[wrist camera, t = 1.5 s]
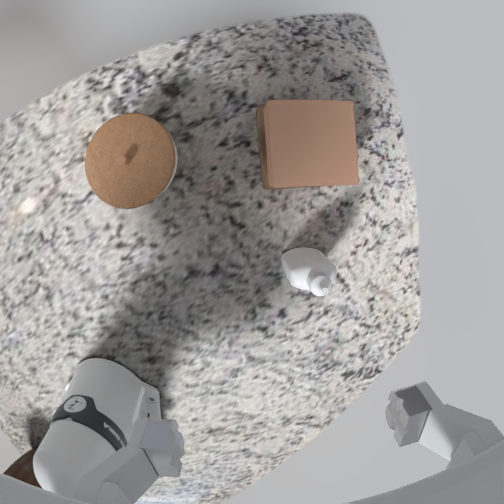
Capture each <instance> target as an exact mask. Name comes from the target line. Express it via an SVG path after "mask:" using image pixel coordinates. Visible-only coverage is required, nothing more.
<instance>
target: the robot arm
mask: <svg viewBox="0 0 504 504" xmlns="http://www.w3.org/2000/svg"><path fill="white" fill-rule="evenodd" d="M65 390H66V392H65V395H64V397H63V399H62V401H61V403H60V406H59V407H58V409H57V410H56V412H55V414H54V415H53V416H52V418H51V421H50V423H49V430H48V432H47V433H46V435H45V437H44V438H43V440H42V442H41V444H40V445H39V447H38V449H37V451H36V452H35V454H34V457H33V469H34V474H35V477H36V479H37V481H38V482H39V484H40V486H41V487H42V489H41V488H38V487H36V486H33V485H30V484H28V483H25V482H23V481H20V480H18V479H15V478H13V477H11V476H8V475H5V474H0V504H134V503H135V502H136V501H137V500H138V499H139V498H140V497H141V496H142V495H143V493H144V492H145V491H146V490H147V489H148V488H149V487H150V486H151V485H152V484H153V483H154V482H155V481H156V480H157V479H158V478H159V477H158V476H167V477H180V472H181V466H182V463H181V461H180V458H181V457H182V456H183V454H184V441H183V437H182V434H181V433H180V432H178V424H177V422H176V420H171V419H161V409H160V396H159V391H158V390H157V389H156V388H155V387H153V386H151V385H149V384H147V383H144V382H142V381H141V380H140V379H139V378H137V377H136V376H135V375H134V374H133V373H132V372H131V371H129V370H128V369H126V368H125V367H123V366H121V365H120V364H118V363H115V362H113V361H110V360H106V359H101V358H91V359H87V360H84V361H82V362H81V363H79V364H78V366H77V367H76V369H75V371H74V375H73V377H72V379H71V380H70V381H69V382H68V383H67V385H66V387H65ZM152 398H153V399H152ZM389 400H390V402H391V403H390V404H389V405H388V406H387V409H386V420H387V423H388V425H389V427H390V428H391V429H393V430H395V433H394V437H395V439H396V441H397V443H398V445H399V447H401V446H405V445H408V444H411V443H414V442H417V441H419V443H421V444H422V445H424V446H425V447H427V448H429V449H430V450H432V451H434V452H435V453H437V454H439V455H440V456H442V457H444V458H445V459H447V460H448V461H450V462H449V464H448V466H447V468H446V469H445V470H444V471H442V472H440V473H437V474H435V475H432V476H430V477H428V478H425V479H423V480H420V481H417V482H415V483H412V484H410V485H407V486H404V487H401V488H398V489H395V490H392V491H389V492H386V493H382V494H379V495H376V496H372V497H369V498H365V499H361V500H357V501H354V502H349V503H345V504H504V436H503V435H502V434H501V432H500V431H499V430H498V428H497V427H496V426H495V425H494V423H493V422H492V421H491V420H488V419H485V418H482V417H479V416H477V415H474V414H472V413H469V412H466V411H463V410H461V409H458V408H456V407H453V406H450V405H448V404H446V405H444V404H443V403H442V402H441V400H440V399H439V398H438V397H437V395H436V394H435V393H434V391H433V390H432V389H431V387H430V386H429V385H428V384H427V382H421V383H418V384H415V385H411V386H408V387H405V388H402V389H398V390H394V391H391V393H390V395H389Z"/></svg>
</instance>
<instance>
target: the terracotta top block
mask: <svg viewBox="0 0 504 504" xmlns="http://www.w3.org/2000/svg"><path fill="white" fill-rule="evenodd" d="M263 113H264V126H265V140H266V154H267V168H268V183H269V186H270V187H272V188H285V187H305V186H330V185H359V179H358V158H357V143H356V129H355V118H354V108H353V101H336V100H268V101H267V103H266V105H265V107H264V109H263Z"/></svg>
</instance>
